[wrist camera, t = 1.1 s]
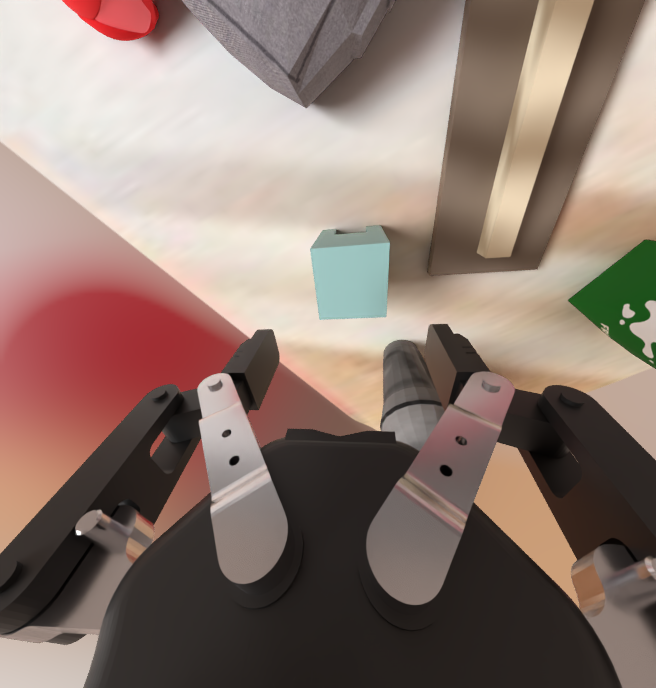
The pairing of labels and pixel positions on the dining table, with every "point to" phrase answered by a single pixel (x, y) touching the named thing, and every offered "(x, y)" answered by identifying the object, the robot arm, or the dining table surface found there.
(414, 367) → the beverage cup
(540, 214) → the cleat board
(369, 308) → the saddle block
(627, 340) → the milk carton
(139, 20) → the cap
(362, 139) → the dining table surface
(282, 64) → the soft grey pack
